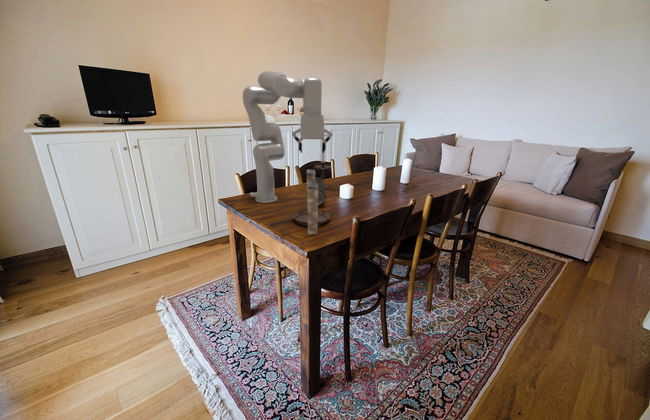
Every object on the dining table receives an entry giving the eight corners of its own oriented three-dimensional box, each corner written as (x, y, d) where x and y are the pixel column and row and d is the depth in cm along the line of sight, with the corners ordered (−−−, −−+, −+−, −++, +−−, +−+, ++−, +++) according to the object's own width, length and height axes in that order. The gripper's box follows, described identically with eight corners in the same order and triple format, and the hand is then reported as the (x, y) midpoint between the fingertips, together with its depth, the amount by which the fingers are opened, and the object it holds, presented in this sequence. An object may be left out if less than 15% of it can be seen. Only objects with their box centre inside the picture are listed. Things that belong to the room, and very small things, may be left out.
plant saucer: (302, 212, 145) (302, 206, 144) (335, 217, 139) (335, 211, 138) (286, 224, 129) (286, 218, 128) (321, 231, 123) (321, 224, 122)
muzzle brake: (324, 192, 177) (325, 176, 173) (325, 208, 151) (325, 189, 147) (309, 192, 177) (309, 176, 173) (307, 207, 150) (307, 189, 147)
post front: (307, 234, 119) (308, 187, 112) (307, 226, 127) (307, 181, 120) (317, 234, 120) (318, 187, 112) (316, 226, 127) (317, 181, 120)
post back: (307, 214, 141) (307, 173, 134) (306, 208, 149) (306, 169, 142) (315, 214, 141) (315, 173, 134) (314, 208, 149) (314, 169, 142)
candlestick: (329, 185, 193) (331, 133, 180) (331, 190, 183) (333, 134, 170) (314, 185, 192) (314, 132, 180) (314, 190, 182) (315, 134, 170)
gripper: (291, 110, 113) (292, 153, 119) (333, 111, 114) (332, 153, 120) (291, 110, 120) (292, 150, 126) (331, 111, 121) (330, 151, 127)
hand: (312, 152), depth 123 cm, fingers open, 9 cm apart
